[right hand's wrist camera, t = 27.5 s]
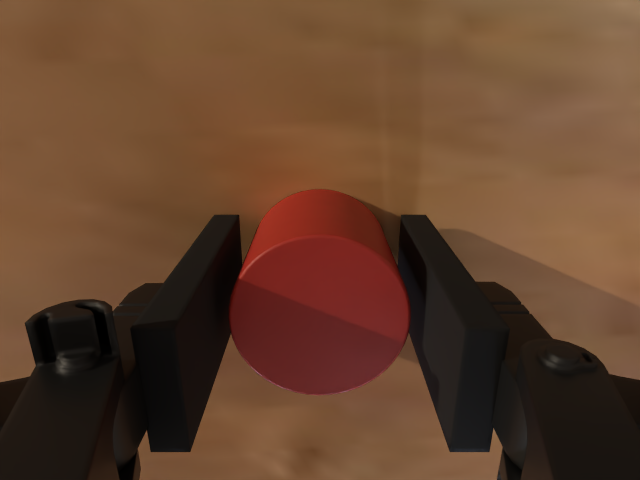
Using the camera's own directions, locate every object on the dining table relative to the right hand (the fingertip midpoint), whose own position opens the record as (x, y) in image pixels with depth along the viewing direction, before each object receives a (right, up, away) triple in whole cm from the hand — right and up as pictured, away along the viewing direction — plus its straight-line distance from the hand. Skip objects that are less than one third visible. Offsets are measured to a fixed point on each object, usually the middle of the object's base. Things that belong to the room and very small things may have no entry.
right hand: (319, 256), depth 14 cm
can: (0, 0, 0) cm, 0 cm away
